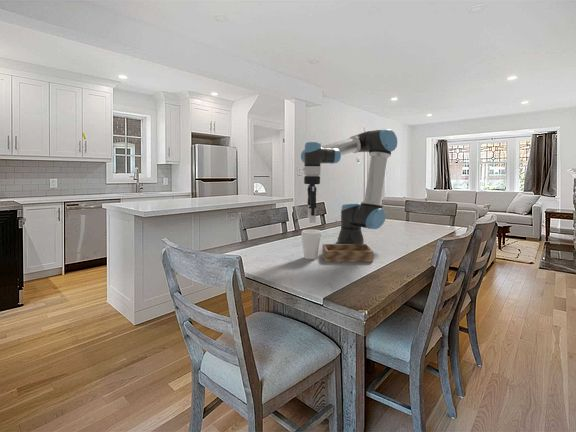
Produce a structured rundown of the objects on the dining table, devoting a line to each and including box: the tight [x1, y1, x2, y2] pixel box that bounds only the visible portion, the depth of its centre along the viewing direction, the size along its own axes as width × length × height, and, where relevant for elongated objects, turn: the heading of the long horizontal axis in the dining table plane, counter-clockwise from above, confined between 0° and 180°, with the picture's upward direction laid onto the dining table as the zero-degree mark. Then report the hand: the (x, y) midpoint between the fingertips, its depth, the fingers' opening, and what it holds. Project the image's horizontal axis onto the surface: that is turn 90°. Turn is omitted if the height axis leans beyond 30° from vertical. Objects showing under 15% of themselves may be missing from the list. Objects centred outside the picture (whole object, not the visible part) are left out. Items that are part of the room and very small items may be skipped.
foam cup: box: [301, 229, 322, 260], centre depth 162 cm, size 10×9×13 cm
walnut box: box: [321, 243, 374, 263], centre depth 163 cm, size 22×15×5 cm
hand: (311, 220), depth 160 cm, fingers open, 13 cm apart
